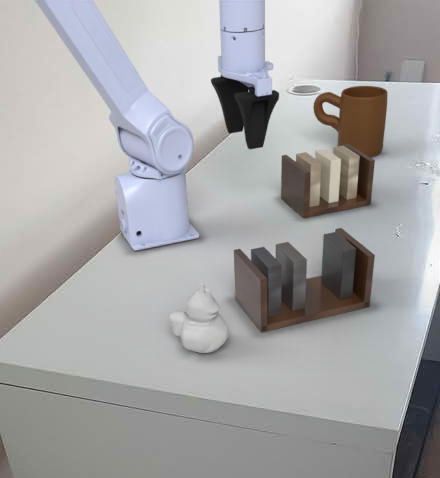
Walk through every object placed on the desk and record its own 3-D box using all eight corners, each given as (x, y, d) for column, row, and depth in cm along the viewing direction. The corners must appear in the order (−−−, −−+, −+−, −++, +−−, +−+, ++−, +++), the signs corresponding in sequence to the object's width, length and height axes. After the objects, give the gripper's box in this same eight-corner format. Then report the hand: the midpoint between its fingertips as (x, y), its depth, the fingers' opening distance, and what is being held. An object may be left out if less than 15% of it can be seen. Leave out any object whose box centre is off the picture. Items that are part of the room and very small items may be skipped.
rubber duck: (218, 365, 75) (214, 297, 70) (162, 354, 77) (154, 287, 72) (237, 339, 79) (234, 272, 74) (182, 329, 81) (176, 263, 76)
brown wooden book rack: (303, 218, 102) (305, 170, 98) (280, 199, 108) (281, 152, 103) (370, 205, 105) (375, 157, 100) (345, 186, 110) (348, 140, 106)
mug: (307, 157, 121) (309, 97, 115) (315, 142, 126) (317, 84, 120) (380, 160, 118) (386, 98, 112) (384, 145, 123) (390, 85, 117)
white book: (328, 203, 104) (331, 160, 100) (313, 191, 107) (315, 150, 103) (338, 201, 104) (341, 159, 100) (323, 189, 108) (325, 148, 104)
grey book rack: (261, 332, 80) (260, 276, 75) (235, 300, 85) (233, 246, 81) (369, 306, 83) (375, 251, 78) (337, 277, 89) (341, 224, 84)
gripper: (295, 34, 87) (292, 150, 96) (250, 14, 98) (252, 121, 107) (241, 41, 86) (243, 158, 95) (201, 21, 96) (207, 128, 105)
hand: (245, 139), depth 100 cm, fingers open, 7 cm apart
